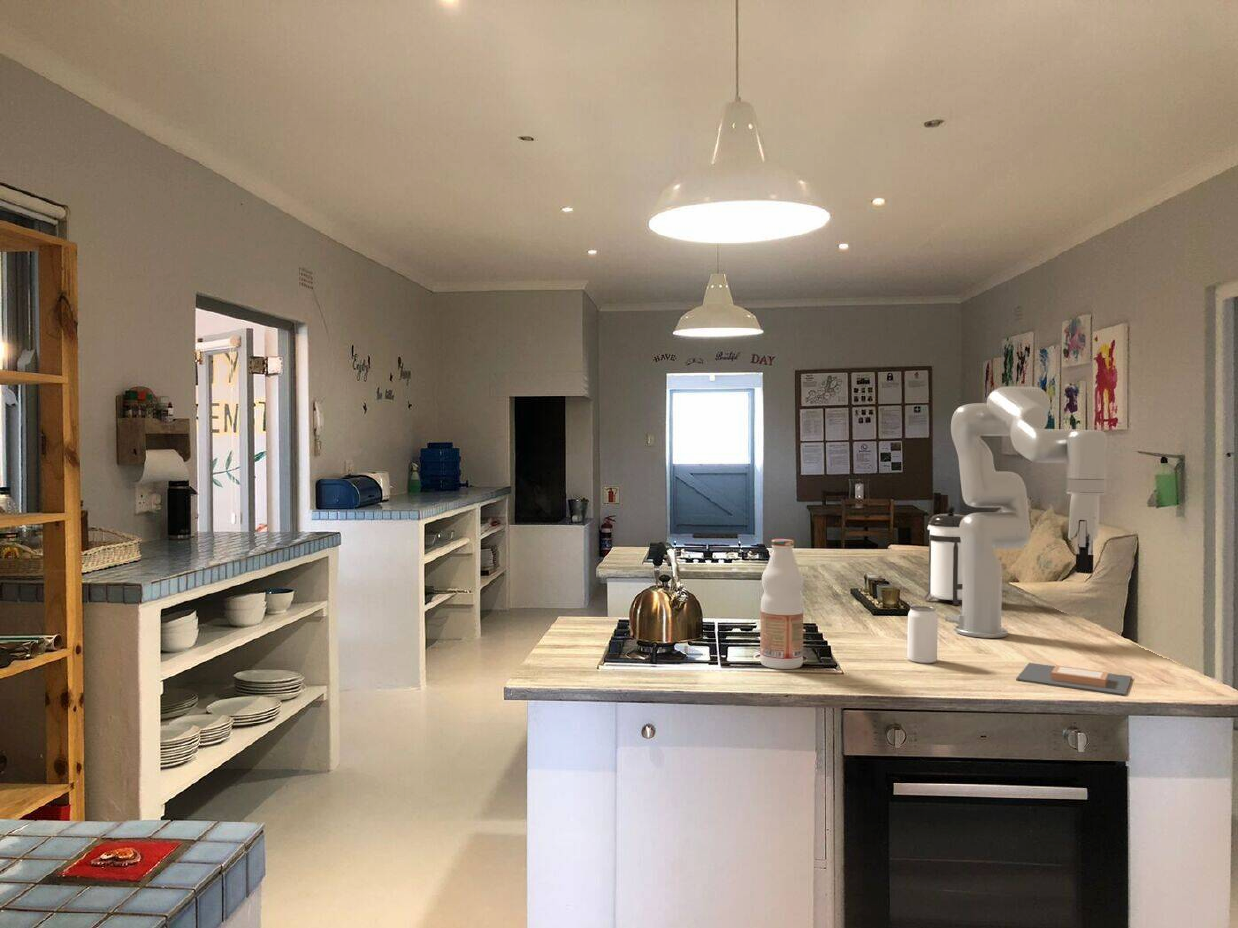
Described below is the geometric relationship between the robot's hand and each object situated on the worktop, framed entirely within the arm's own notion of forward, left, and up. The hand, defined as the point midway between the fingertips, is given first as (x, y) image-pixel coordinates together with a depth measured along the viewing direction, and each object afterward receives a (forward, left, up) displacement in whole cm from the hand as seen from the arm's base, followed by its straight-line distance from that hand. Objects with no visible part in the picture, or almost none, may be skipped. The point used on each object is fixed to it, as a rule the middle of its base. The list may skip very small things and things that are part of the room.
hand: (1084, 572), depth 191 cm
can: (-32, -7, -22) cm, 40 cm away
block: (0, -3, -21) cm, 21 cm away
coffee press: (-44, +74, -22) cm, 89 cm away
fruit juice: (-57, -29, -22) cm, 68 cm away
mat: (-1, -5, -22) cm, 23 cm away
